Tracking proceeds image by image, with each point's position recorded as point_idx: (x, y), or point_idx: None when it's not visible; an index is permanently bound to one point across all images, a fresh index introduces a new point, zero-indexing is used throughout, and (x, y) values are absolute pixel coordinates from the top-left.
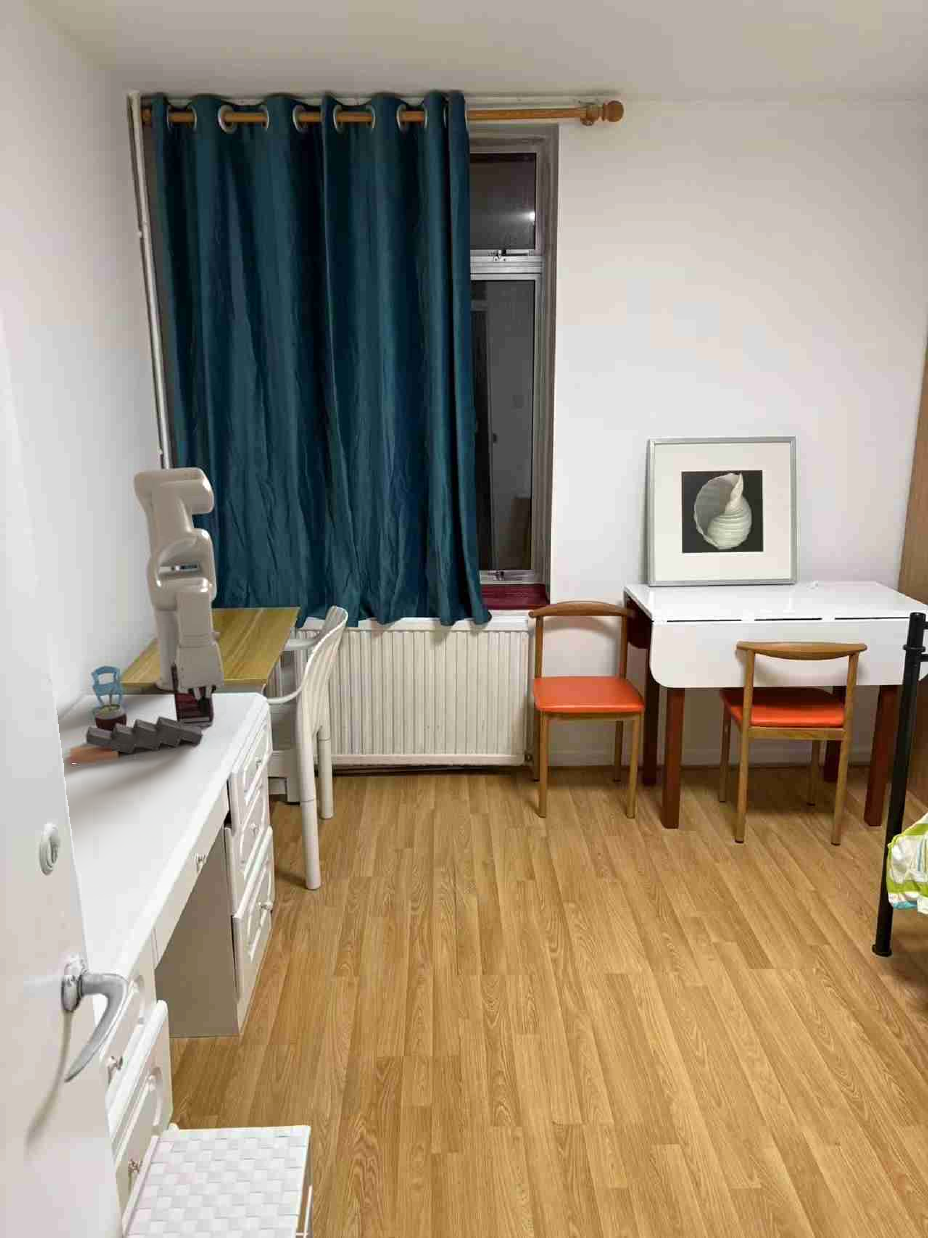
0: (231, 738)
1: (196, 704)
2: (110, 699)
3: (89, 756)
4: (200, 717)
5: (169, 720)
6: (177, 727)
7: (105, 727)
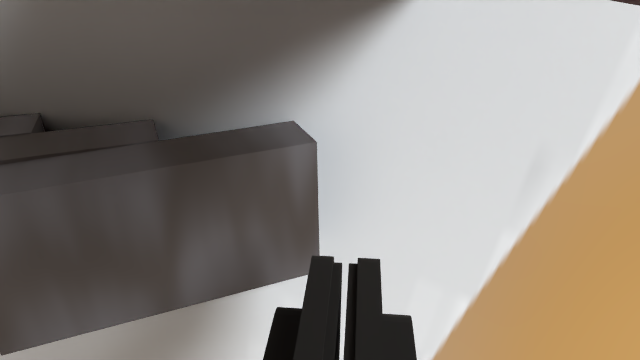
0: (490, 248)
1: (268, 338)
2: None
3: None
4: None
5: (56, 223)
6: (135, 308)
7: None
